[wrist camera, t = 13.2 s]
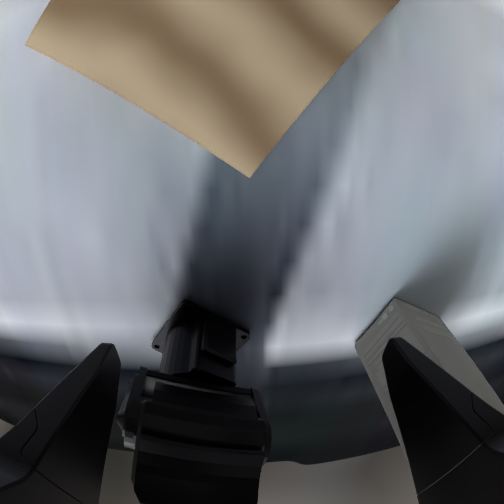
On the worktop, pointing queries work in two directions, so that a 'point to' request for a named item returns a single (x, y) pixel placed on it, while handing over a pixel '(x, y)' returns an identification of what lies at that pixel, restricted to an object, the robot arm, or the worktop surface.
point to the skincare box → (426, 341)
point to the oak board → (211, 60)
